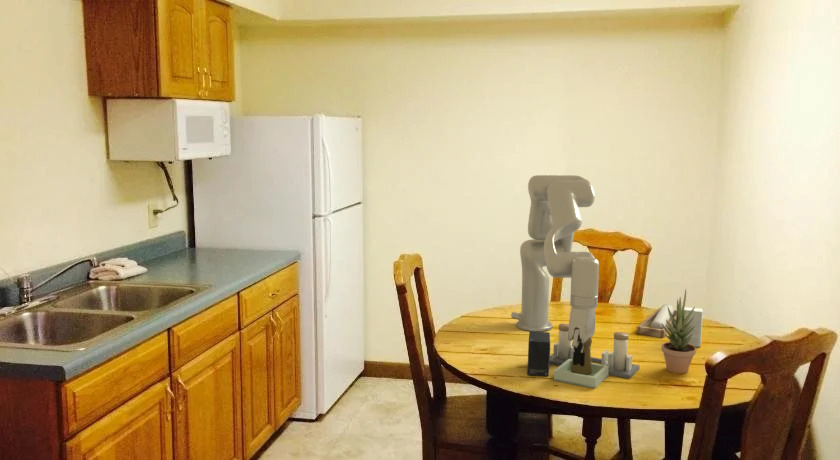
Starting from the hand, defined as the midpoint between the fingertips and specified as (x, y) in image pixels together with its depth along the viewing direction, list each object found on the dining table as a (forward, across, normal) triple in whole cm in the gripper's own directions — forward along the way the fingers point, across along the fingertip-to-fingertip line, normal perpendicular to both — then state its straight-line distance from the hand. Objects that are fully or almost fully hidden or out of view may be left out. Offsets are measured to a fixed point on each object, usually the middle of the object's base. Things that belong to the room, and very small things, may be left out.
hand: (581, 362), depth 209 cm
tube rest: (+5, -68, +6) cm, 68 cm away
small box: (+5, 0, -13) cm, 14 cm away
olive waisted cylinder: (+3, 0, 0) cm, 3 cm away
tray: (+5, 0, 0) cm, 5 cm away
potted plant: (+5, -22, +22) cm, 31 cm away
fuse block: (+5, -12, -1) cm, 13 cm away
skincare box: (+5, -50, +20) cm, 54 cm away
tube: (+5, -68, +6) cm, 69 cm away
